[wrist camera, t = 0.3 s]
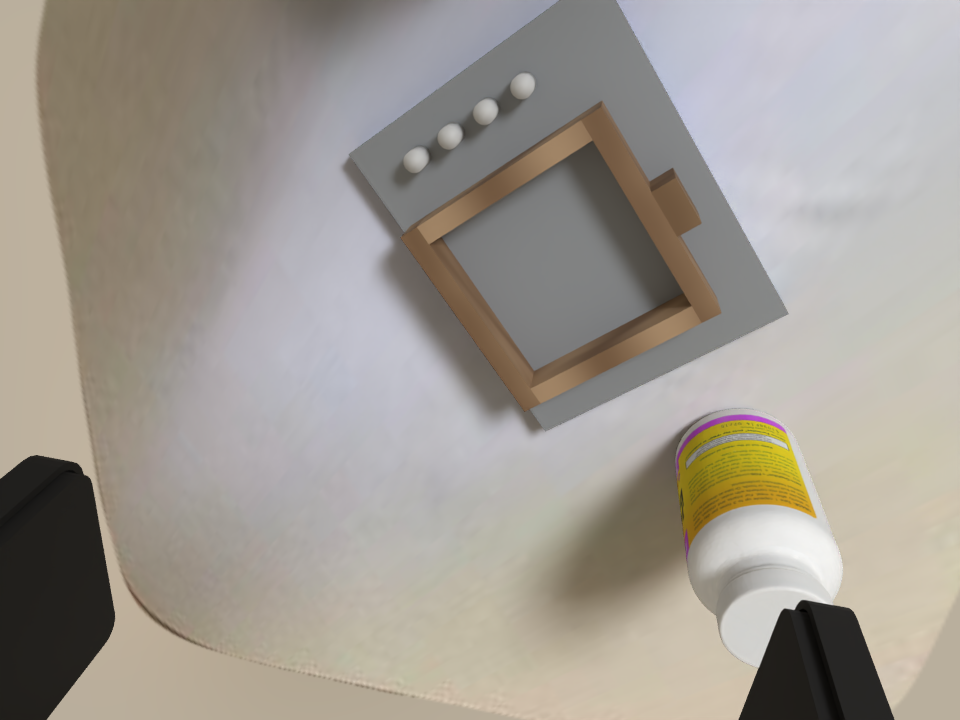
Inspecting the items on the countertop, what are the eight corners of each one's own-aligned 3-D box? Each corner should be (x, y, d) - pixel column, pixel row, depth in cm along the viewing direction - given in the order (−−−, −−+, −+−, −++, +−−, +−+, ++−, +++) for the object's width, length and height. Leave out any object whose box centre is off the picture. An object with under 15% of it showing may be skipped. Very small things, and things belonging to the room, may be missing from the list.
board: (600, -29, 33) (598, -29, 30) (783, 304, 38) (794, 325, 36) (356, 149, 38) (339, 160, 36) (547, 420, 43) (543, 445, 41)
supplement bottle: (651, 436, 42) (663, 602, 31) (763, 383, 40) (820, 543, 29) (710, 520, 44) (741, 706, 33) (819, 474, 42) (894, 659, 30)
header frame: (625, 84, 33) (626, 90, 32) (739, 285, 37) (746, 300, 35) (410, 225, 38) (400, 237, 36) (528, 393, 41) (524, 411, 39)
